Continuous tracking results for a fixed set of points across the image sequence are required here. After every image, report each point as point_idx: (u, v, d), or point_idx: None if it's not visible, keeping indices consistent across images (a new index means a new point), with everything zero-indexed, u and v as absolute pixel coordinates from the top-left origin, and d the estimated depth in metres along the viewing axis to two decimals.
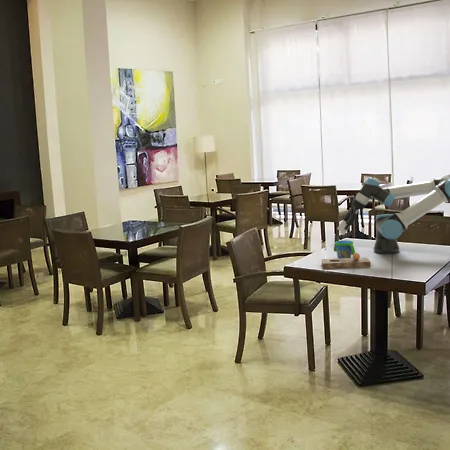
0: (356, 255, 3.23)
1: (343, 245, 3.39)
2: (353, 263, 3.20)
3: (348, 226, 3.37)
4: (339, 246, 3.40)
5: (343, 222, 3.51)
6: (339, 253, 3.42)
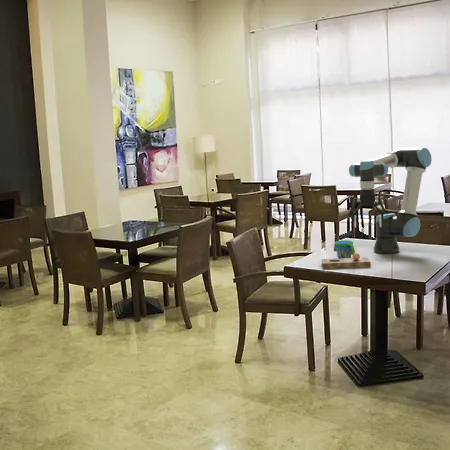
0: (356, 255, 3.23)
1: (343, 245, 3.39)
2: (353, 263, 3.20)
3: (383, 216, 3.21)
4: (339, 246, 3.40)
5: (355, 217, 3.23)
6: (339, 253, 3.42)
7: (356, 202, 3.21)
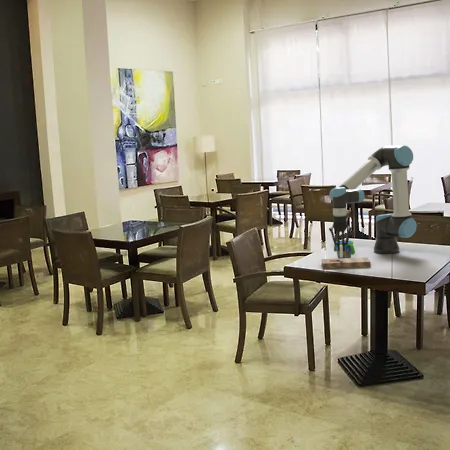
0: None
1: None
2: (353, 263, 3.20)
3: None
4: None
5: None
6: (339, 253, 3.42)
7: (332, 231, 3.23)
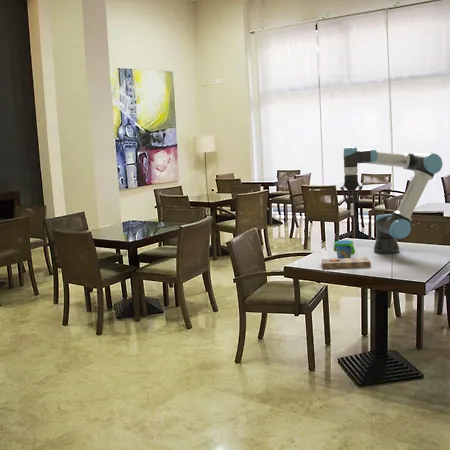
0: (333, 261, 3.25)
1: (343, 245, 3.39)
2: (353, 263, 3.20)
3: None
4: (339, 246, 3.40)
5: None
6: (339, 253, 3.42)
7: (343, 190, 3.34)
